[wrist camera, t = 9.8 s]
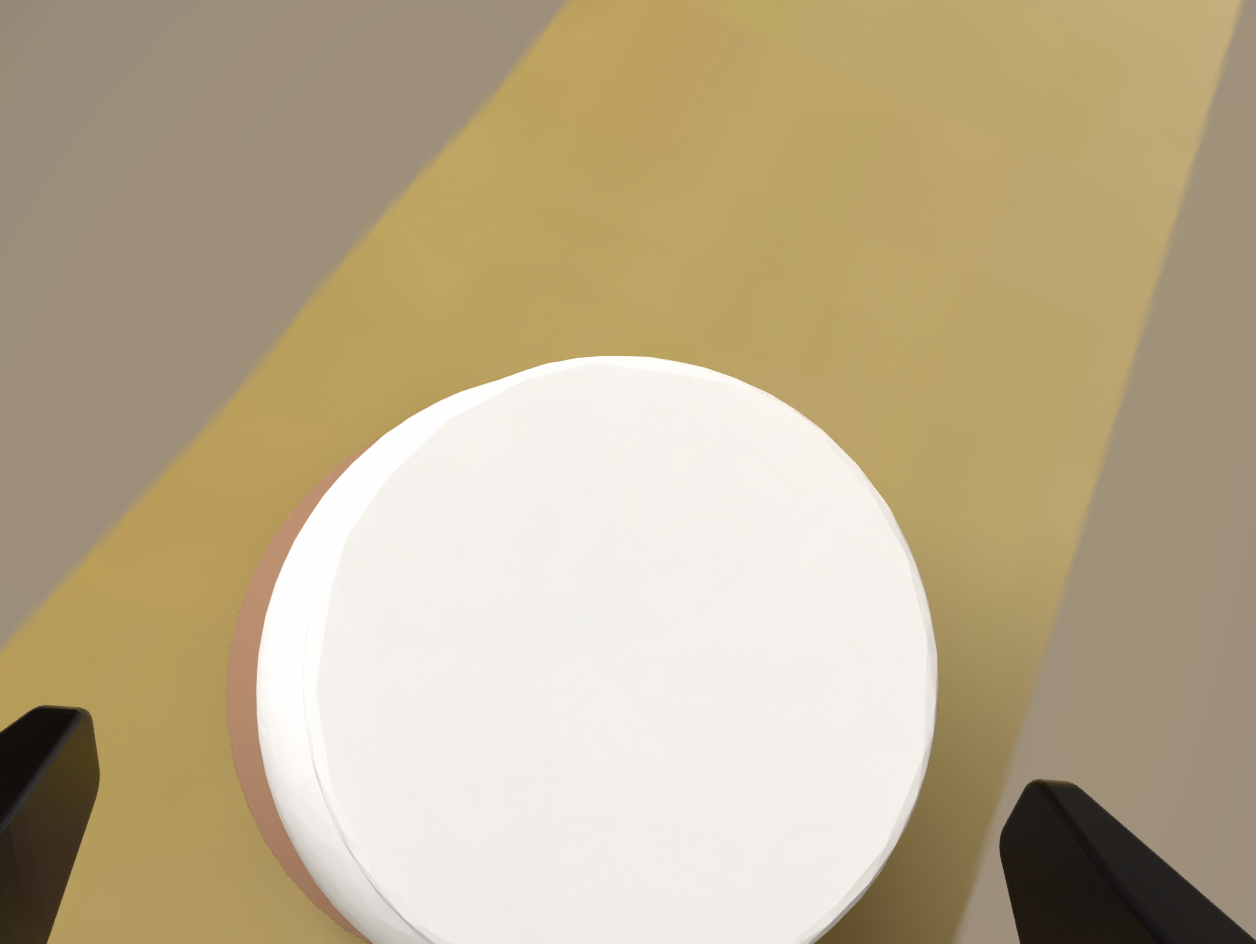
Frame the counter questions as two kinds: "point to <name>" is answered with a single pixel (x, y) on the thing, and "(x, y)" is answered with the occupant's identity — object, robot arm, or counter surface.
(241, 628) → the terracotta round disc
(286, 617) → the supplement bottle
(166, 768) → the counter surface
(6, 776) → the robot arm
